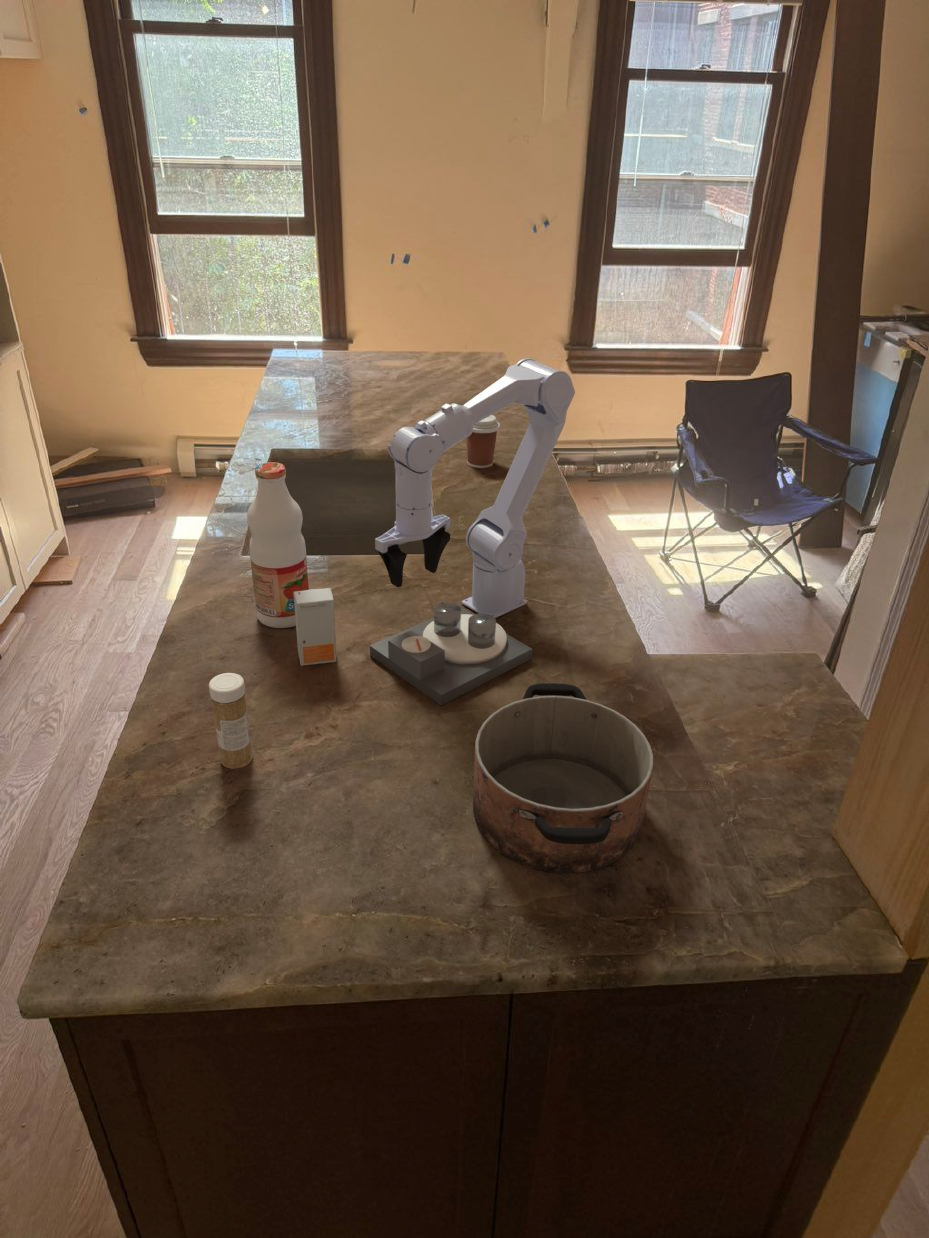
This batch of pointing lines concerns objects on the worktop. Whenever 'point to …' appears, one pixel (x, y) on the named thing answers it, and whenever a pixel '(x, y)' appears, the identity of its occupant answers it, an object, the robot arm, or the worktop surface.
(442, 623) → the cylinder
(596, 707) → the cooking pot
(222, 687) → the sprinkles bottle
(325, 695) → the worktop surface
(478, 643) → the cylinder
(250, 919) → the worktop surface
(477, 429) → the coffee cup
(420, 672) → the kitchen scale
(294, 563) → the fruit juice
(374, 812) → the worktop surface
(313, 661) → the skincare box
